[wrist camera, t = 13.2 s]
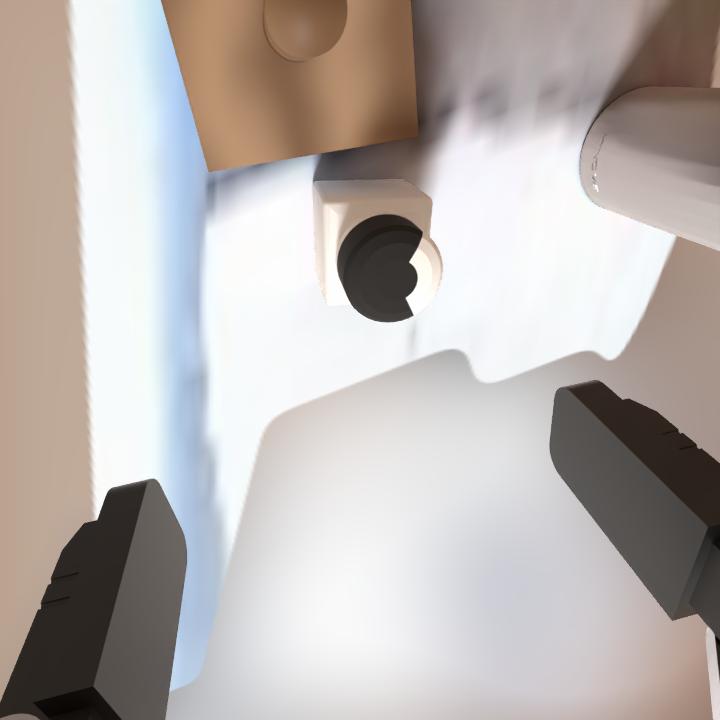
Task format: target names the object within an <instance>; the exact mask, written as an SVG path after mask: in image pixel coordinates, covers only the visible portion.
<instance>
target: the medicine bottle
mask: <svg viewBox="0 0 720 720" xmlns="http://www.w3.org/2000/svg"><path fill="white" fill-rule="evenodd" d="M312 196H313V223H314V249H315V270H316V273H317V276H318V279H319V282H320V286H321V289H322V292H323V295H324V298H325V301H326V303H327V304H328V305H346V304H351V305H352V306H353V307H354V308H355V309H356V310H357V311H358V312H359V313H360V314H362V315H363V316H365V317H367V318H369V319H371V320H374V321H379V322H397V321H402V320H405V319H407V318H410V317H412V316H414V315H415V314H417V313H419V312H420V311H421V310H422V309H424V308H425V307H426V306H427V305H428V304H429V303H430V301H431V300H432V299H433V297H434V296H435V294H436V292H437V290H438V288H439V286H440V282H441V279H442V272H443V265H442V258H441V255H440V252H439V250H438V248H437V246H436V244H435V243H434V241H433V240H432V239H431V238H430V226H431V214H432V199H431V198H430V197H429V196H428V195H426V194H425V193H423V192H422V191H420V190H419V189H417V188H416V187H414V186H413V185H411V184H410V183H408V182H407V181H405V180H404V179H370V180H326V181H314V183H313V184H312Z"/></svg>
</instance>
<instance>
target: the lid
mask: <svg viewBox="0 0 720 720" xmlns="http://www.w3.org/2000/svg"><path fill="white" fill-rule="evenodd" d="M161 2H162V6H163V10H164V13H165V17H166V20H167V24H168V27H169V31H170V35H171V38H172V42H173V45H174V49H175V53H176V56H177V60H178V63H179V67H180V71H181V74H182V78H183V81H184V85H185V89H186V92H187V96H188V99H189V103H190V107H191V110H192V114H193V117H194V121H195V124H196V128H197V132H198V135H199V139H200V142H201V146H202V150H203V153H204V157H205V160H206V164H207V168H208V171H209V172H212V171H218V170H224V169H230V168H236V167H242V166H248V165H254V164H260V163H266V162H272V161H278V160H284V159H290V158H296V157H302V156H308V155H314V154H320V153H326V152H332V151H338V150H344V149H350V148H356V147H362V146H368V145H374V144H380V143H386V142H392V141H398V140H404V139H410V138H416V137H419V134H418V117H417V99H416V82H415V64H414V47H413V29H412V12H411V0H161Z"/></svg>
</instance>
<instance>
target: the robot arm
mask: <svg viewBox="0 0 720 720" xmlns="http://www.w3.org/2000/svg"><path fill="white" fill-rule="evenodd" d="M580 178H581V184H582V187H583V189H584V191H585V193H586V195H587V196H588V197H589V198H590V200H591V201H592V202H593V203H595V204H596V205H598V206H599V207H602V208H604V209H607V210H610V211H613V212H615V213H618V214H621V215H623V216H626V217H629V218H631V219H634V220H636V221H639V222H642V223H644V224H647V225H650V226H653V227H655V228H658V229H661V230H663V231H666V232H669V233H672V234H674V235H677V236H680V237H683V238H685V239H688V240H691V241H694V242H697V243H699V244H702V245H704V246H707V247H710V248H713V249H715V250H718V251H720V88H695V87H651V86H649V87H643V88H637V89H635V90H632V91H630V92H627V93H625V94H624V95H622V96H620V97H619V98H617V99H616V100H614V101H613V102H612V103H611V104H610V105H609V106H608V107H607V108H606V109H605V110H604V111H603V112H602V113H601V114H600V116H599V117H598V118H597V120H596V121H595V122H594V124H593V126H592V128H591V129H590V131H589V133H588V135H587V137H586V140H585V143H584V145H583V148H582V153H581V158H580ZM550 454H551V458H552V461H553V464H554V466H555V468H556V470H557V472H558V474H559V475H560V476H561V478H562V479H563V480H564V481H565V483H566V484H567V485H568V487H569V488H570V489H571V491H572V492H573V493H574V494H575V496H576V497H577V498H578V500H579V501H580V502H581V503H582V505H583V506H584V507H585V508H586V510H587V511H588V513H589V514H590V515H591V516H592V517H593V519H594V520H595V522H596V523H597V524H598V525H599V527H600V528H601V529H602V531H603V532H604V533H605V535H606V536H607V537H608V538H609V540H610V541H611V542H612V544H613V545H614V546H615V547H616V549H617V550H618V551H619V553H620V554H621V555H622V556H623V558H624V559H625V560H626V562H627V563H628V564H629V566H630V567H631V568H632V569H633V571H634V572H635V573H636V575H637V576H638V577H639V578H640V580H641V581H642V582H643V584H644V585H645V586H646V588H647V589H648V590H649V591H650V593H651V594H652V595H653V597H654V598H655V599H656V600H657V602H658V603H659V604H660V606H661V607H662V608H663V609H664V611H665V612H666V613H667V615H668V616H669V617H670V618H671V620H672V621H673V620H677V619H680V618H683V617H687V616H691V615H694V614H698V615H699V616H700V617H701V618H702V619H703V621H704V622H705V623H706V624H707V625H708V629H707V632H706V649H707V659H708V670H709V681H710V692H711V703H712V713H713V720H720V463H719V462H717V461H716V460H715V459H714V458H712V457H711V456H710V455H709V454H708V453H707V452H705V451H704V450H703V449H698V448H697V445H696V443H694V442H693V441H692V440H691V439H690V438H688V437H687V436H686V435H685V434H683V433H681V434H680V433H679V431H678V429H677V428H676V427H675V426H674V425H672V424H671V423H670V422H669V421H668V420H666V419H665V418H664V417H663V416H662V415H660V414H659V413H658V412H657V411H655V410H652V409H650V408H648V407H646V406H644V405H642V404H639V403H637V402H635V401H633V400H631V399H625V400H622V399H621V398H620V397H618V396H617V395H616V394H615V393H614V392H613V391H612V390H610V389H609V388H608V387H607V386H606V385H605V384H603V383H602V382H600V381H598V380H593V381H588V382H584V383H579V384H575V385H570V386H566V387H561V388H559V389H558V390H557V391H556V394H555V398H554V407H553V416H552V426H551V435H550ZM186 566H187V548H186V541H185V537H184V534H183V531H182V529H181V527H180V524H179V522H178V520H177V518H176V516H175V514H174V512H173V510H172V508H171V506H170V504H169V502H168V500H167V498H166V496H165V494H164V492H163V490H162V488H161V486H160V484H159V483H158V481H157V480H155V479H149V480H144V481H140V482H135V483H131V484H126V485H122V486H118V487H113V488H111V489H110V490H109V491H108V493H107V495H106V497H105V500H104V503H103V506H102V508H101V511H100V514H99V517H98V520H96V521H92V522H88V523H84V524H83V525H82V527H81V528H80V529H79V530H78V531H77V533H76V534H75V535H74V536H73V538H72V539H71V540H70V541H69V543H68V544H67V545H66V546H65V547H64V549H63V550H62V552H61V555H60V557H59V560H58V562H57V564H56V567H55V570H54V572H53V574H52V577H51V584H49V585H48V587H47V589H46V592H45V594H44V596H43V599H42V601H41V609H39V610H38V611H37V613H36V616H35V618H34V621H33V623H32V626H31V628H30V631H29V633H28V636H27V638H26V640H25V643H24V645H23V648H22V650H21V653H20V655H19V657H18V660H17V662H16V665H15V668H14V670H13V672H12V675H11V677H10V680H9V682H8V684H7V687H6V689H5V692H4V694H3V697H2V700H1V702H0V720H165V717H166V710H167V702H168V695H169V688H170V681H171V674H172V667H173V659H174V652H175V645H176V638H177V631H178V624H179V616H180V609H181V602H182V595H183V588H184V580H185V573H186Z"/></svg>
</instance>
